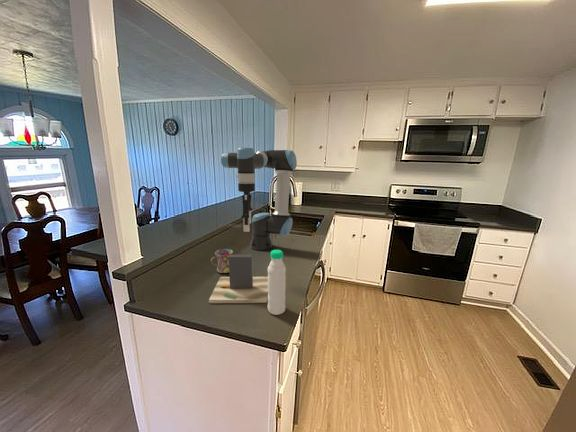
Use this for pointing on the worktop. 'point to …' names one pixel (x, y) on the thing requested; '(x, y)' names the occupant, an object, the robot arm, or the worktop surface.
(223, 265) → the mug
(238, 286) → the gray square slab
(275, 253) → the water bottle
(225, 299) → the beige flat board
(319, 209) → the worktop surface
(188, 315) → the worktop surface
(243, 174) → the robot arm
